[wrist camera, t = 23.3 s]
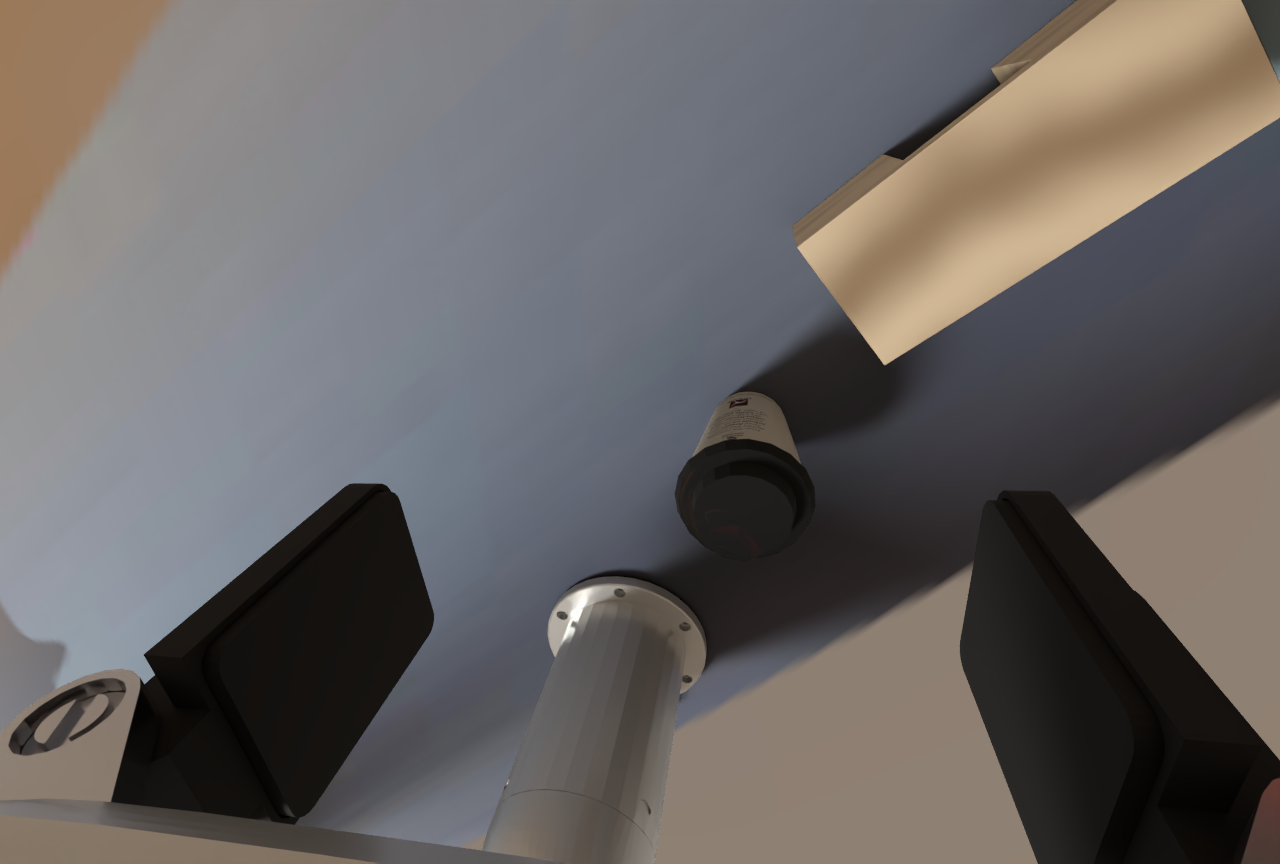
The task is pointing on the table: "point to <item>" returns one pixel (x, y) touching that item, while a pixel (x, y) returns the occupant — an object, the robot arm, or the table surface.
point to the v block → (1267, 27)
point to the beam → (1040, 161)
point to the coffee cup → (745, 482)
